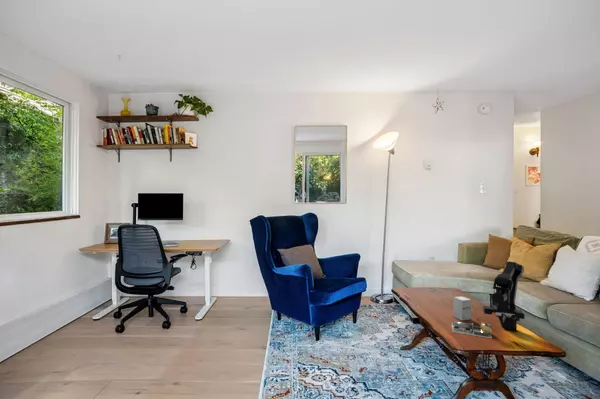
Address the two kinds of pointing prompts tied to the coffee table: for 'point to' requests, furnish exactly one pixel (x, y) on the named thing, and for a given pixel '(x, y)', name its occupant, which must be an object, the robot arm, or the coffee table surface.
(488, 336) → the pipe run
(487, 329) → the valve
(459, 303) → the supplement box
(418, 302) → the coffee table surface
